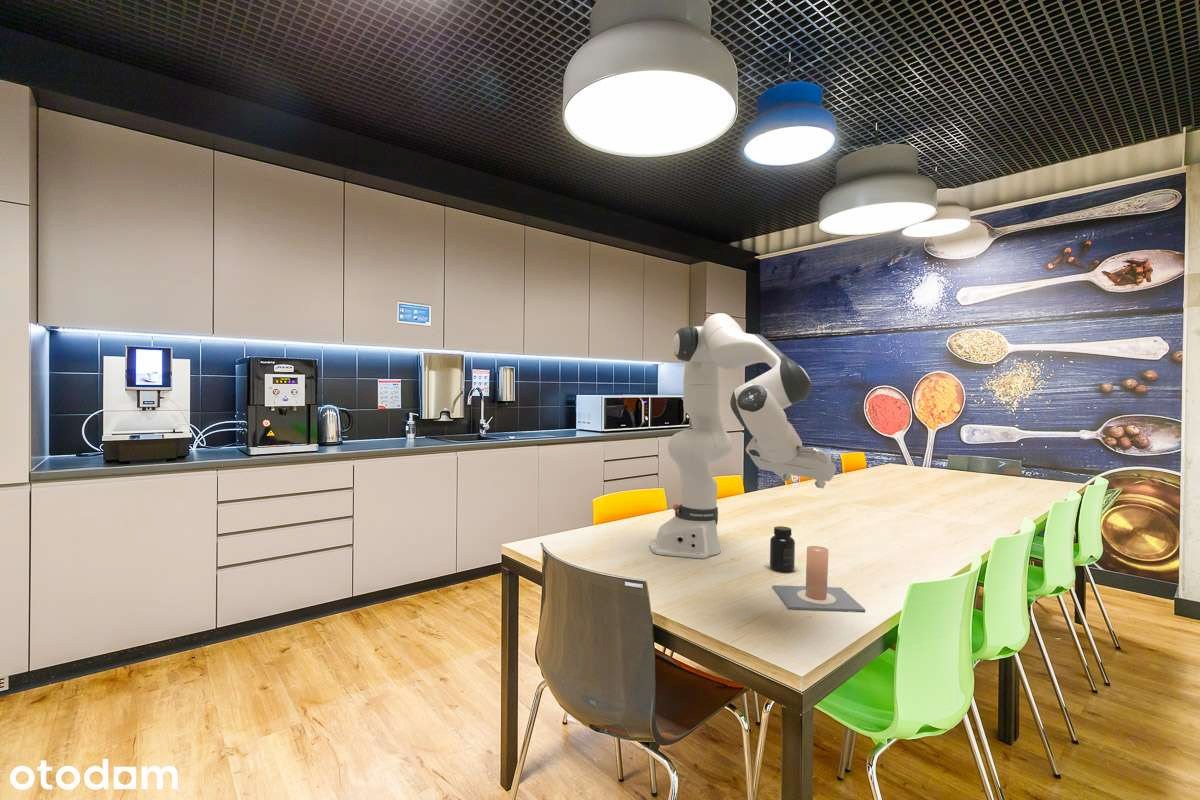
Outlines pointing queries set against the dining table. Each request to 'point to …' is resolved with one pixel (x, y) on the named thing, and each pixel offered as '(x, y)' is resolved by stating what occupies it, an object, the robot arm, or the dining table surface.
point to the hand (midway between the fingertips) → (804, 482)
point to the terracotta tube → (816, 572)
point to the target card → (799, 601)
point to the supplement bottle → (782, 550)
